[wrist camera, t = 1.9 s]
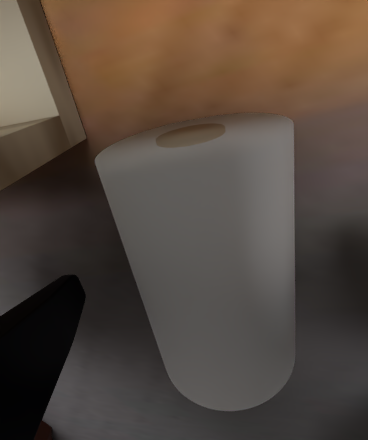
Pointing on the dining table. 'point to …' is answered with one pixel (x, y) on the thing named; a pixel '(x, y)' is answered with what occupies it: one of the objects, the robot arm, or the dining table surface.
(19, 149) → the roll cradle
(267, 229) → the paper roll
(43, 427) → the muffin
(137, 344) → the dining table surface
